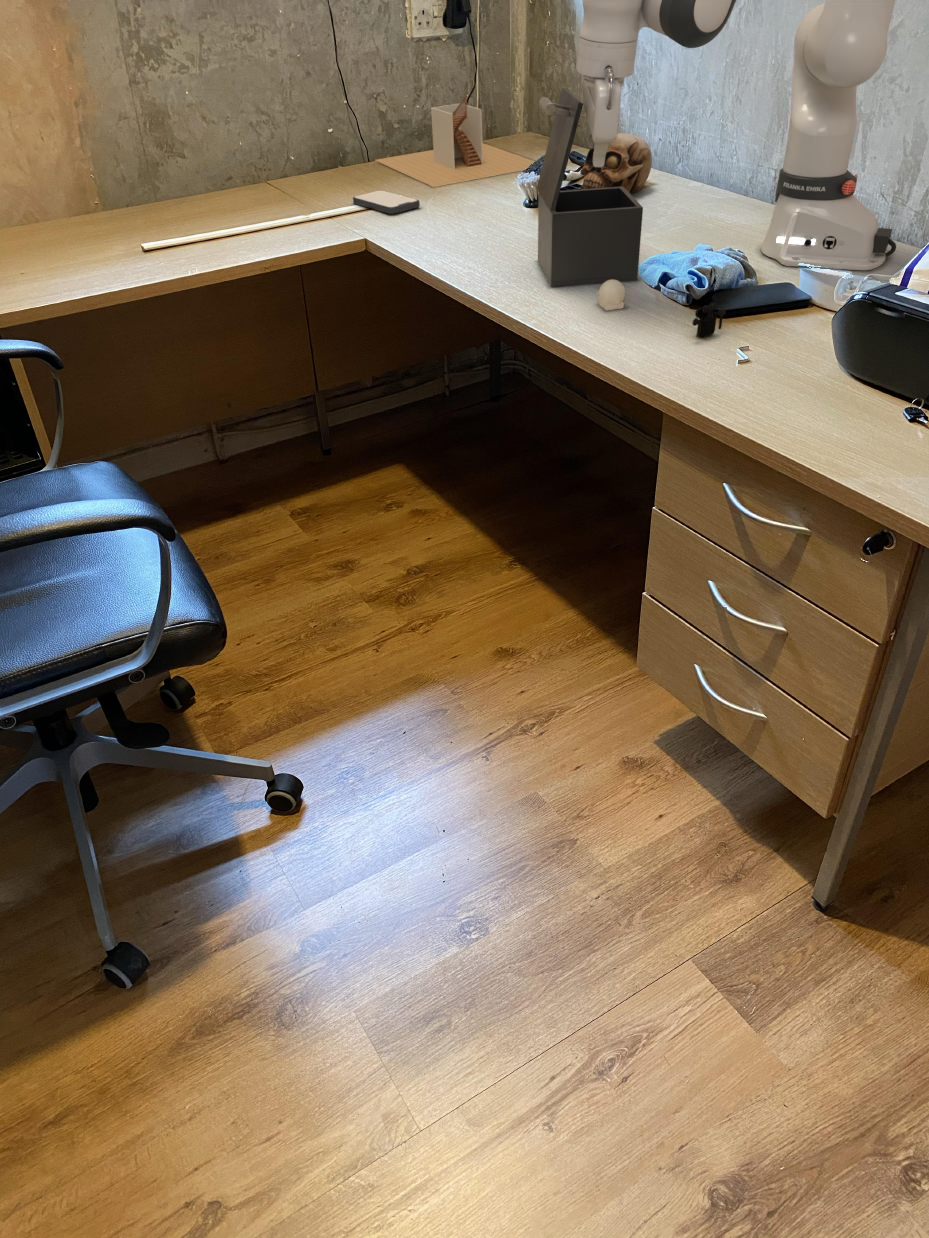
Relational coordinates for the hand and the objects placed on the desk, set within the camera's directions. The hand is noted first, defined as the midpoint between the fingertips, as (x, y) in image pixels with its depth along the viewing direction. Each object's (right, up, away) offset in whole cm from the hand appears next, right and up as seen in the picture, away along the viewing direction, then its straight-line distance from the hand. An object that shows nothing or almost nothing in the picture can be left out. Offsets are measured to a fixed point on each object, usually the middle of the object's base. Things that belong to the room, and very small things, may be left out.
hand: (595, 156), depth 148 cm
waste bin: (+1, -11, +20) cm, 23 cm away
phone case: (-39, +19, +60) cm, 75 cm away
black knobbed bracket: (+16, -31, -5) cm, 35 cm away
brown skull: (+12, +22, +60) cm, 65 cm away
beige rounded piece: (+4, -22, +6) cm, 24 cm away
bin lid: (-5, +5, +7) cm, 10 cm away
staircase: (-23, +44, +89) cm, 102 cm away
